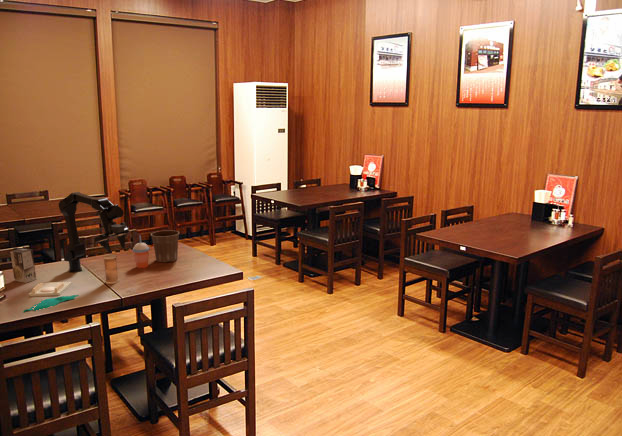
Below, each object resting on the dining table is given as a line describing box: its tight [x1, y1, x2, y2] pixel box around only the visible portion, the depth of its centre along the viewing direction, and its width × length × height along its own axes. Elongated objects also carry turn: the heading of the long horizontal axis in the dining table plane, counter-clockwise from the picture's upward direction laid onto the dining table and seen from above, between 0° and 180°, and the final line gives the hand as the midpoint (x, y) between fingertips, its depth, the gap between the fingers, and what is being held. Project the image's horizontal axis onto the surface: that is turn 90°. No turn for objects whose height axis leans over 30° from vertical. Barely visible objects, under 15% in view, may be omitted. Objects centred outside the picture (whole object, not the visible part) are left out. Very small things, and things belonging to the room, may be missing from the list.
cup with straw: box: [132, 235, 150, 269], centre depth 284 cm, size 9×9×18 cm
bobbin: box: [102, 253, 120, 285], centre depth 259 cm, size 6×6×14 cm
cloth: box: [22, 294, 80, 313], centre depth 233 cm, size 26×14×2 cm, turn 132°
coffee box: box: [9, 247, 37, 284], centre depth 263 cm, size 9×6×16 cm
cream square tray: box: [28, 281, 73, 297], centre depth 249 cm, size 16×14×3 cm
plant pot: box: [150, 229, 180, 263], centre depth 297 cm, size 16×16×16 cm
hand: (117, 250), depth 263 cm, fingers open, 9 cm apart
